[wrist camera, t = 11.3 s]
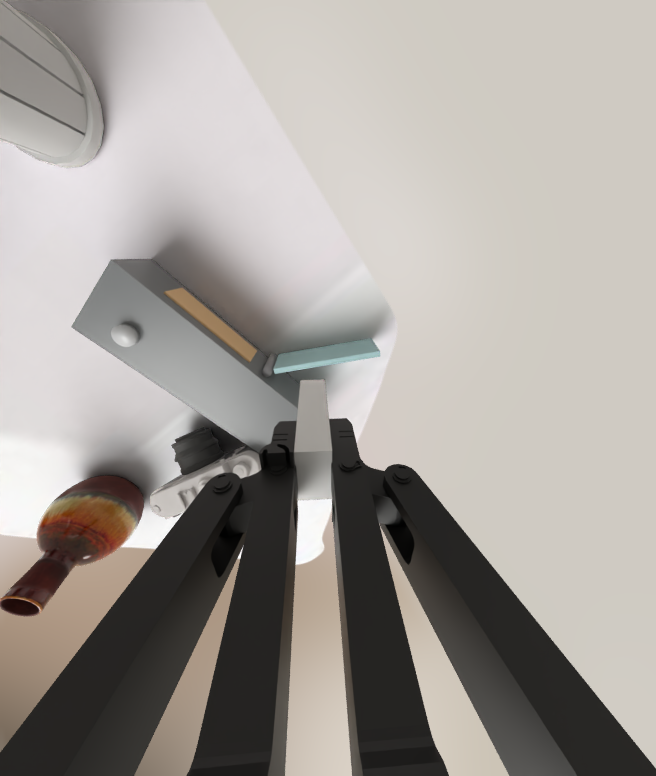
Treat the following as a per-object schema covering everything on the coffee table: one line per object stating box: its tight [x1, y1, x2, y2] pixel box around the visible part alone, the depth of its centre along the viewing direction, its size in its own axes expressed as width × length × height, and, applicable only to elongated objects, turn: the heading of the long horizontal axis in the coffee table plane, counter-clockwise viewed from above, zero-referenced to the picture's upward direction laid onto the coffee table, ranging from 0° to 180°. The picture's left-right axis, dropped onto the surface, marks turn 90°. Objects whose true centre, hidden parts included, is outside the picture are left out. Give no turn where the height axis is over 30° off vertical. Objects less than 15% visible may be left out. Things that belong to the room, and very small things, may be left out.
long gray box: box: [72, 259, 300, 453], centre depth 30 cm, size 26×8×7 cm, turn 45°
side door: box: [262, 338, 380, 377], centre depth 30 cm, size 13×1×5 cm, turn 99°
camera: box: [150, 427, 261, 519], centre depth 34 cm, size 9×16×10 cm, turn 115°
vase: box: [0, 475, 144, 616], centre depth 35 cm, size 11×11×15 cm
